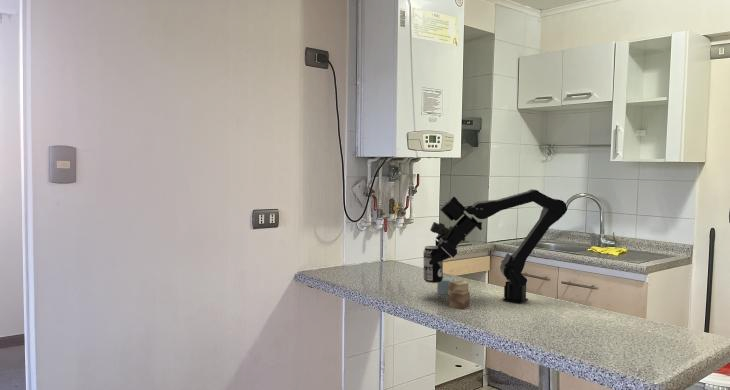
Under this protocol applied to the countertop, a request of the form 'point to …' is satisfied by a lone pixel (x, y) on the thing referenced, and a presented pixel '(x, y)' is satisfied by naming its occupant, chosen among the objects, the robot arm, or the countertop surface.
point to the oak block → (457, 286)
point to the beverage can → (432, 266)
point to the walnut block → (459, 299)
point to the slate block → (444, 285)
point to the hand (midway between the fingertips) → (429, 262)
